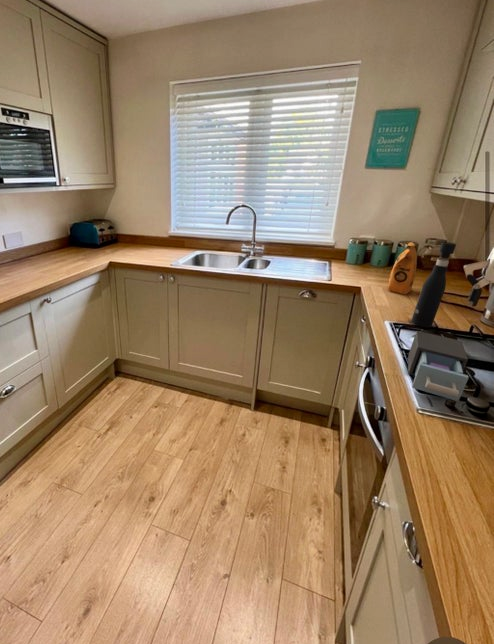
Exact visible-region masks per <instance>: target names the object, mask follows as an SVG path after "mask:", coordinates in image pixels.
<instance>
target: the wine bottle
mask: <svg viewBox="0 0 494 644" xmlns="http://www.w3.org/2000/svg"><path fill="white" fill-rule="evenodd" d="M456 247H457V243H454V242H450V241H448V242H447V241H443V242H441V245H440V248H439V250H438V252H439V253H440V255H439V257H438V258H437V260H436V263H435V264H434V265H433V268H432V272H431V273H430V274H429V275H428V276H427V278H426V279H425V281H424V283H423V285H422V287H421V291H420V293H419V297H418V299H417V302H416V304H415V308H414V311H413V314H412V317H411V320H410V322H411V324H413V325H415V326H417V327H421V328H427V329H428V328H429V329H430V328H431V327H433V325H434V321H435V318H436V316H437V313H438V311H439V307H440V306H441V302H442V298H443V296H444V294H445V291H446V286H447V275H446V274H447V272H448V268H449V266H448V265H449V264H450V262H449V259H450V256H451V255H453V254H454V252H455V249H456Z"/></svg>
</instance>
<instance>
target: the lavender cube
mask: <svg viewBox="0 0 494 644" xmlns="http://www.w3.org/2000/svg"><path fill="white" fill-rule="evenodd" d="M429 365H430V366H434V367H438V368H442V369H445V370H449V371H450V369H449V367H447V366H443V365H439V364H435V363H432V362H430V364H429Z"/></svg>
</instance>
